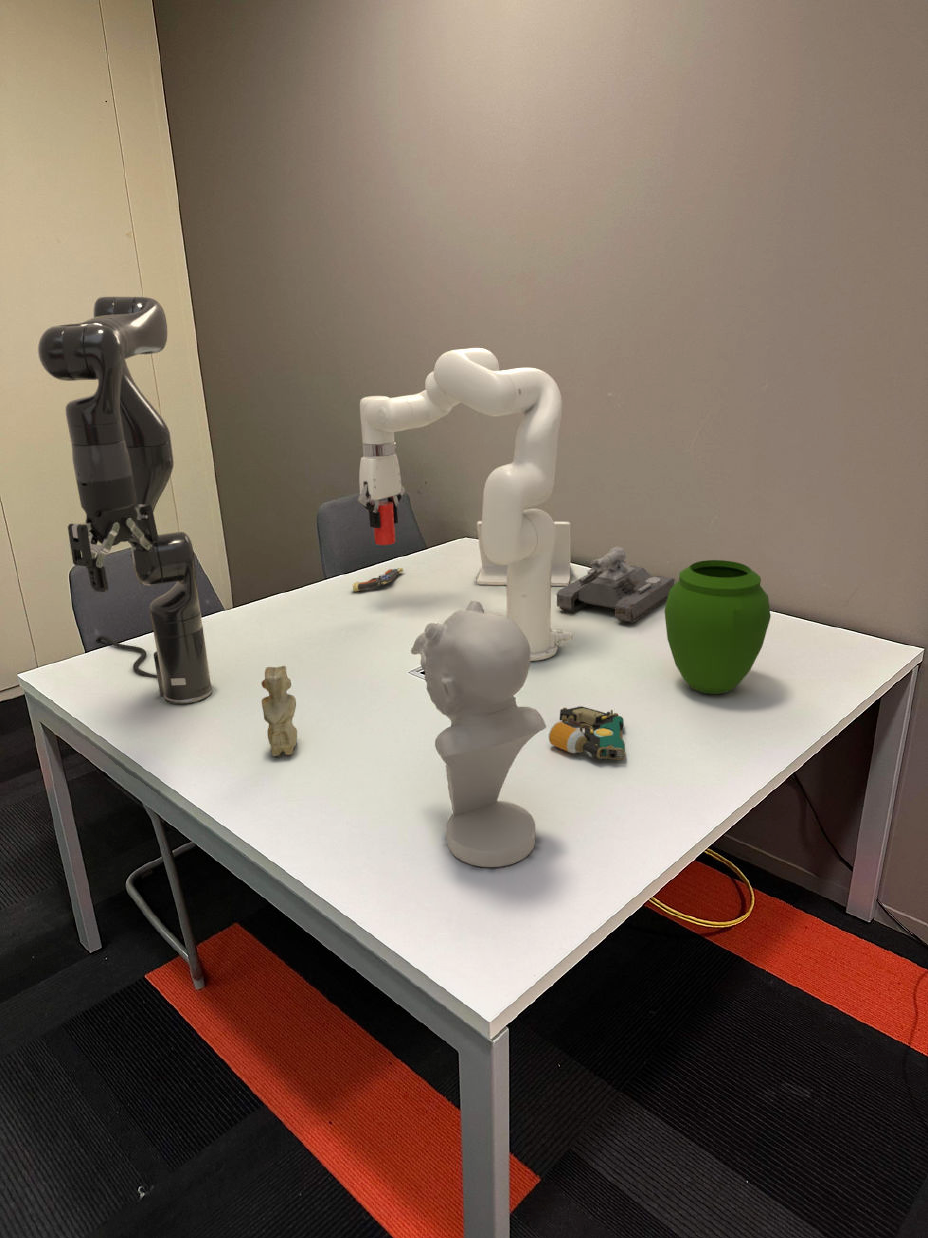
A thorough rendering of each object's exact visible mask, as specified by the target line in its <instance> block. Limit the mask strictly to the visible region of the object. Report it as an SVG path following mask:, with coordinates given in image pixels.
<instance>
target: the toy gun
mask: <svg viewBox="0 0 928 1238" xmlns="http://www.w3.org/2000/svg"><path fill="white" fill-rule="evenodd" d="M403 572H404V568H403V567H401V568H399V567H397V568H394V569H393V568H391V569H390V568H389V569H388V570H386V571H385V572H384V574H381V575H378V576H377V577H373V578H371V579H369V580H367V581H362V582H358V581H356V582H354V583H352V590H353V592H359V591H363V590H367V589H371V588H375V587H378V586H384V585H386V584H388V585H389V584H390V583H391V582H393V580H395V578H396V577H397V576H398V575H399V574H401V573H403Z"/></svg>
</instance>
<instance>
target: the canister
mask: <svg viewBox="0 0 928 1238" xmlns="http://www.w3.org/2000/svg"><path fill="white" fill-rule="evenodd" d="M373 504H374V502H372V505H373ZM377 512H380V521H381V528H373V533H374V544H375V545H379V546H388V545H392V544H395V543H396V529H395V523H394V512H393V503H392V502H388V501H387V500H386V501H379V505H378V511H377Z"/></svg>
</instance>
